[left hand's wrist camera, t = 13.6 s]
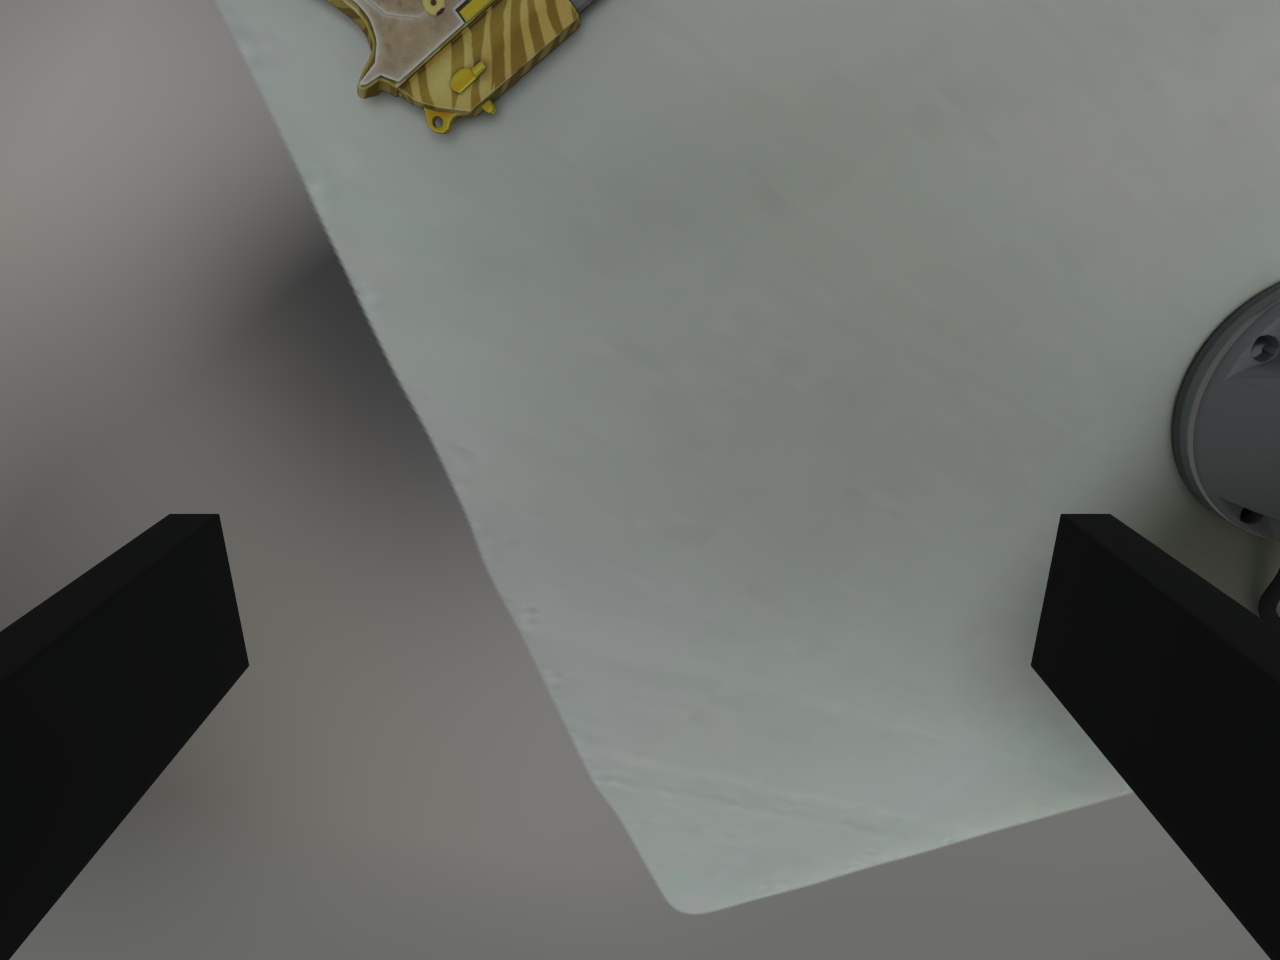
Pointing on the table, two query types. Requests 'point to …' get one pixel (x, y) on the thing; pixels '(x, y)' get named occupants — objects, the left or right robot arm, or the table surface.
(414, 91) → the handgun
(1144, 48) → the table surface
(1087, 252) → the table surface
